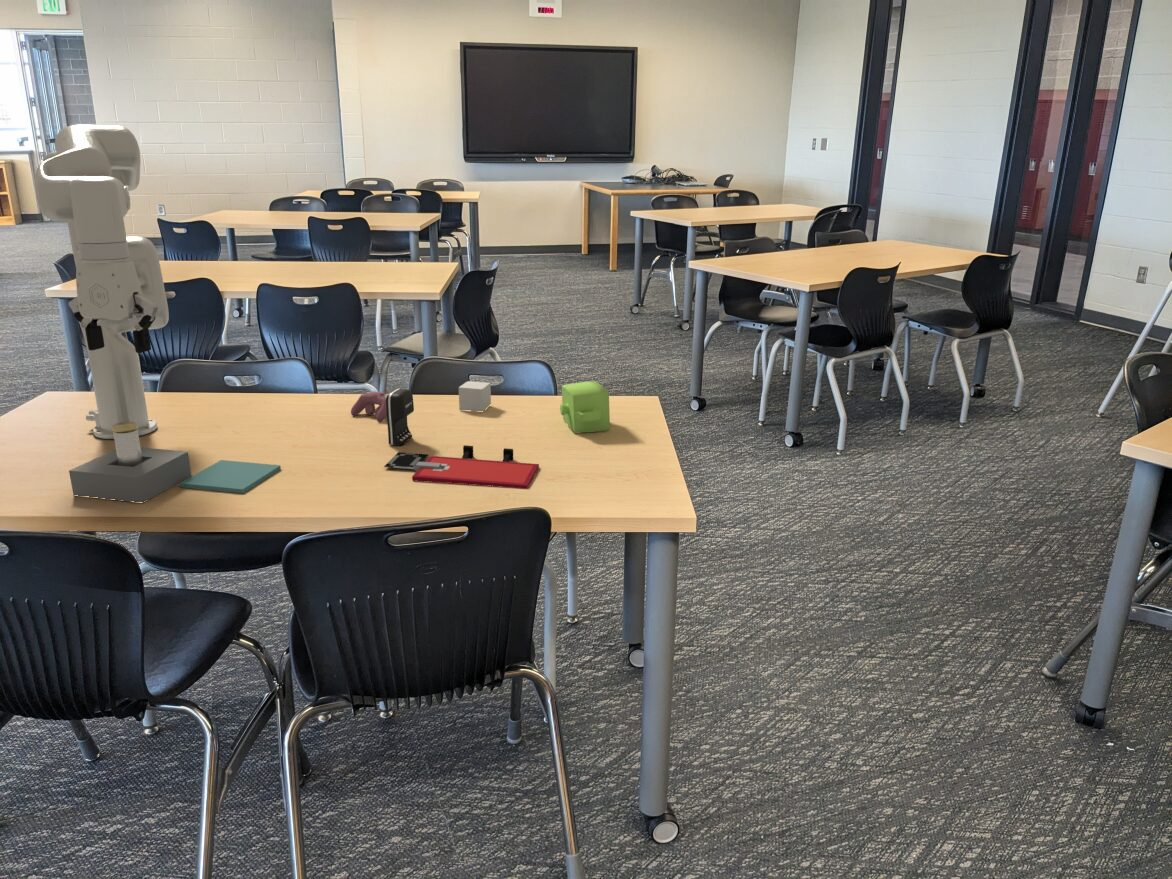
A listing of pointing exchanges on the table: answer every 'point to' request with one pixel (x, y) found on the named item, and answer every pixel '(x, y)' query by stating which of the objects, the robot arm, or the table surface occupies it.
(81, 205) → the robot arm
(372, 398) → the video game controller
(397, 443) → the battery charger
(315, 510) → the table surface
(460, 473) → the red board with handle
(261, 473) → the mat
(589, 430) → the gearbox
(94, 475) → the block
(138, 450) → the peg
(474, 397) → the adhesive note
